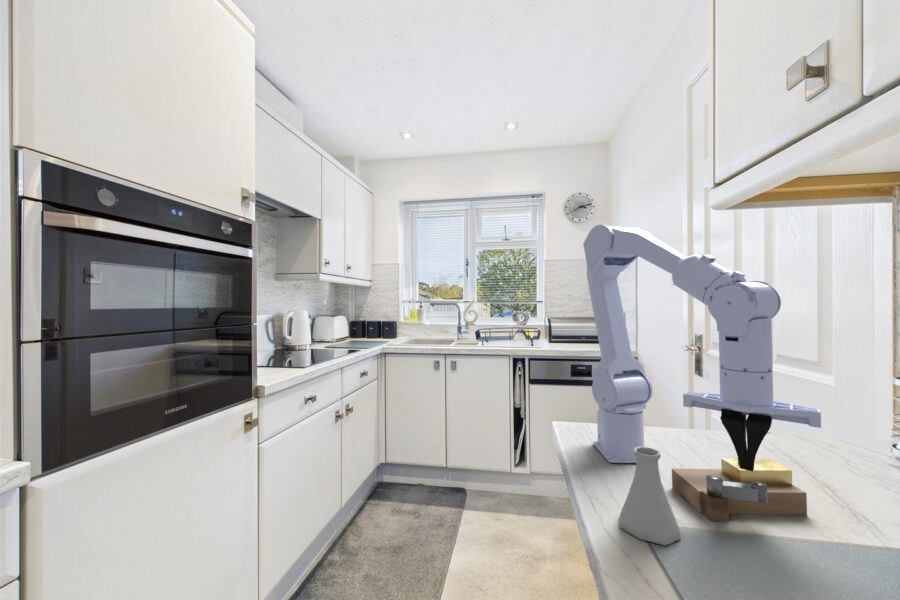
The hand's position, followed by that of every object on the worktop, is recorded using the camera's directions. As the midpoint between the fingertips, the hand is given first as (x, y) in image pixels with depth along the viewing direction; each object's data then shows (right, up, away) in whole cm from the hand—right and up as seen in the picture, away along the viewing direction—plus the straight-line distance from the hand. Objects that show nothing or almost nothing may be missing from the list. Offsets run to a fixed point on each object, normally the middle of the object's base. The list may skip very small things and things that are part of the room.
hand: (747, 467), depth 50 cm
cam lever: (-3, -3, -2) cm, 4 cm away
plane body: (+1, -6, +3) cm, 7 cm away
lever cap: (+4, -3, +4) cm, 7 cm away
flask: (-15, -7, -3) cm, 17 cm away
